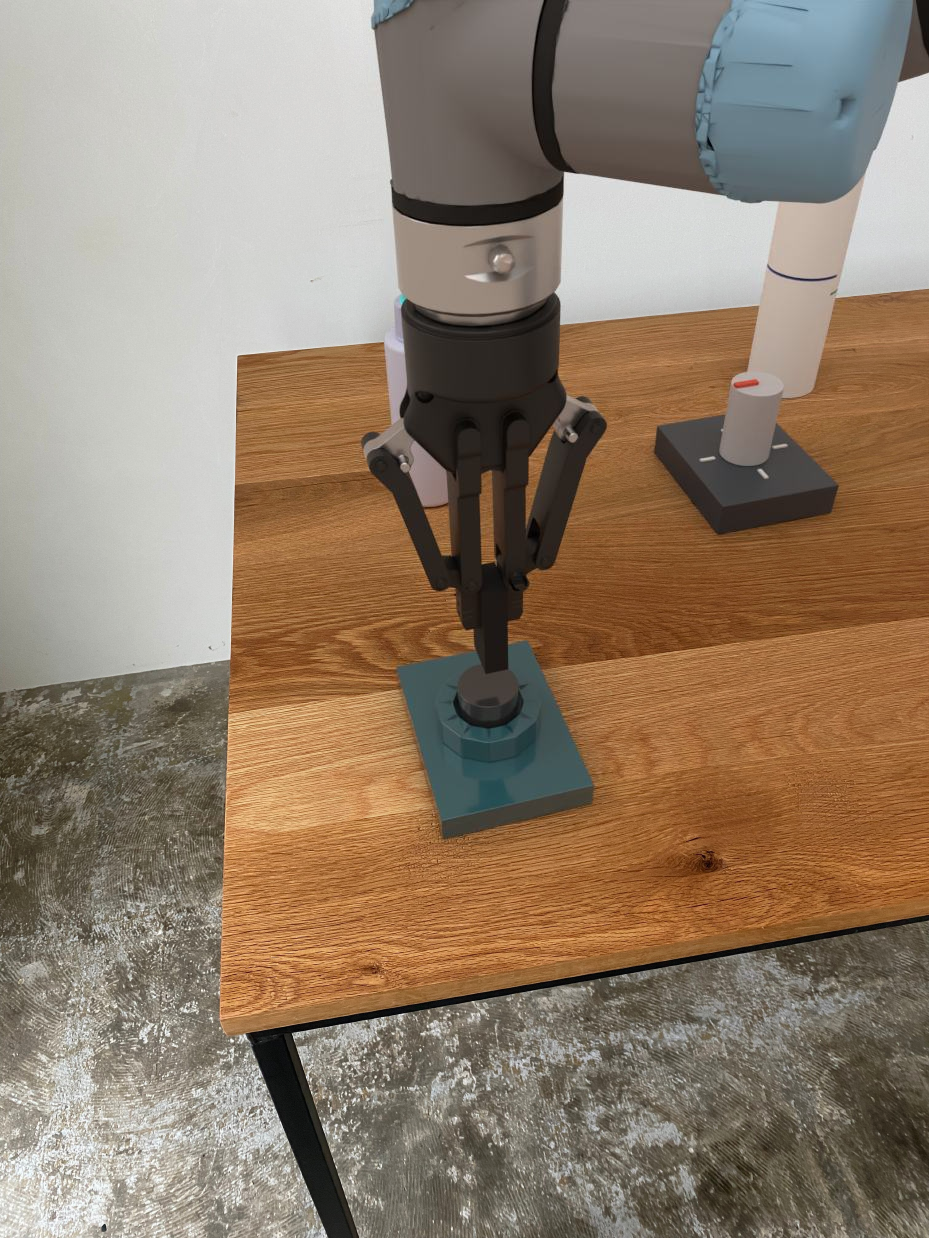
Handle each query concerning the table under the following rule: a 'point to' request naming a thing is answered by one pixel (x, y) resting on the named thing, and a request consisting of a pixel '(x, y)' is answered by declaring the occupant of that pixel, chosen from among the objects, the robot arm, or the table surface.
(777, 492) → the dial base
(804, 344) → the cylindrical container
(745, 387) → the tap dial
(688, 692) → the table surface
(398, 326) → the spray bottle
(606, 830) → the table surface
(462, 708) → the dark grey round knob
